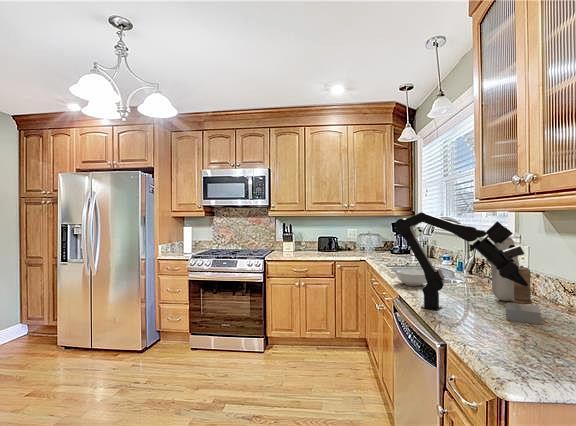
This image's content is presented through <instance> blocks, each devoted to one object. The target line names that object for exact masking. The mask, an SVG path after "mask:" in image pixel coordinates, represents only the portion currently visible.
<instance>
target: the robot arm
mask: <svg viewBox="0 0 576 426" xmlns="http://www.w3.org/2000/svg"><path fill="white" fill-rule="evenodd" d="M421 223H424V224H427V225H431V226H433V227H435V228H438V229H441V230H445V231H446V232H449V233H452V235H455V236H456V237H459V238H460V239H461V240H463V241H466V242H469V244H468V246H469V252H473V251H474V250H476V251H477V252H478V253H479V254H480V255H482V257H483V258H485V259H486V261H487V262H488V263H490V265H491V264H492V265H494V266H495V267H496V269H497V270H499V275H500V276H502V277H503V278H507V279H509V280H512V281H514V282H516V283H519V284H521V285H523V286H528V283H527V282H526V281H525V280H524V278H523V277H522V276H521V275H520V273H519V272H518V270H519V267H520V266H519V267H518V266H517V264H516V262H515V260H513V259H512V258H513V257H516V256H517V257H518V256H523V255H525V252H524V250H523V248H522V247H521V245H513V244H511V245H509V249H507V250H504V251H502V250H501V249H498V248H497V247H496V246H495V245H494V243H498V242H499V243H500V244H501V243H502V242H504V241H505V240H506V239H507V238H508V237H509V238H511V236H512V235H514V233H513V232H512V231H511V230H509V229H508V227H506V226H504V225H503V224H502V223H501V222H499V221H498V220H497V221H495V223H494V224H493V225H492V226H490V227H489V228H488V229H486V230H484V229H477V228H476V227H475V226H471V225H466V224H459V223H454V222H452V221H448V220H445V219H443V218H440V217H437V216H434V215H432V214H428V213H427V212H424V211H423V212H421V211H420V212H418V213H417V214H415V215H412V216H410V217H407V218H399V219H397V220H396V221H395V222H394V229H395V230H396V231H397V233H398V234H399V235H400V236H401V237H402V238H403V240H405V241H406V243H407V244H408V246H409V248H410V250H411V252H412V253H413V255H414V257H415V258H416V260H417V262H418V263H419V265H420V267H421V270H422V271H424V274H425V278H426V281H427V283H425V284H424V286H423V287H422V289H421V291H422V293H423V305H421V306H420V308H421V309H426V310H432V311H438V310H440V309H442V308H443V305H440V293H439V291H440V290H442V289H443V287H444V286H445V282H446V281H445V278H446V277H445V275H444V274H443V273H442V270H441V268H438V269H436V268H435V266H434V265H433V264H432V262H431V261H430V259H429V257H428V256H427V254H426V251H424V248H423V247H422V245H421V244H420V242H419V240H418V238H417V237H416V234H415V233H416V232H415V230H414V226H417V225H419V224H421ZM478 238H479V239H478ZM480 238H483V239H480ZM488 238H489V239H488ZM474 241H475V242H474ZM471 242H474V243H471ZM514 262H515V263H514Z"/></svg>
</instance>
